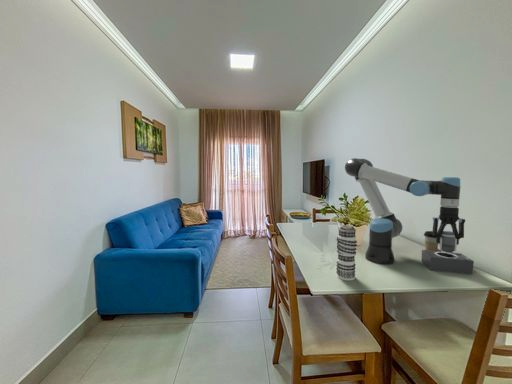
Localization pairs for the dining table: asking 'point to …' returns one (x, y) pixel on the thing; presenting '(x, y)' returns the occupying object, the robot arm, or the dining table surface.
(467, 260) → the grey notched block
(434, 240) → the coffee cup
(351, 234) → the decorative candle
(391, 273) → the dining table surface
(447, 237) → the lens
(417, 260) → the dining table surface
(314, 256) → the dining table surface
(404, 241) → the dining table surface
